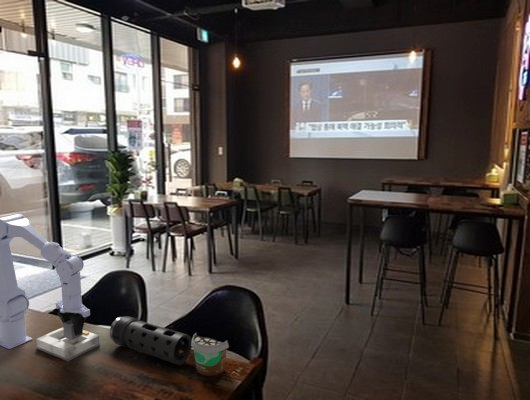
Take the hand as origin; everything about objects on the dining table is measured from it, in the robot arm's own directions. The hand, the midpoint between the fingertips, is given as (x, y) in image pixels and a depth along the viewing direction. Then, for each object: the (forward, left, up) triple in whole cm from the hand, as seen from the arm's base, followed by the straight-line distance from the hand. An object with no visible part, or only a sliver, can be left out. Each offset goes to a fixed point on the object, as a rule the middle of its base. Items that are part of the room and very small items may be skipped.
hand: (74, 332), depth 136 cm
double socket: (-3, 0, -6) cm, 7 cm away
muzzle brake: (+24, +10, -6) cm, 26 cm away
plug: (0, 0, -2) cm, 2 cm away
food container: (+46, +11, -6) cm, 47 cm away
